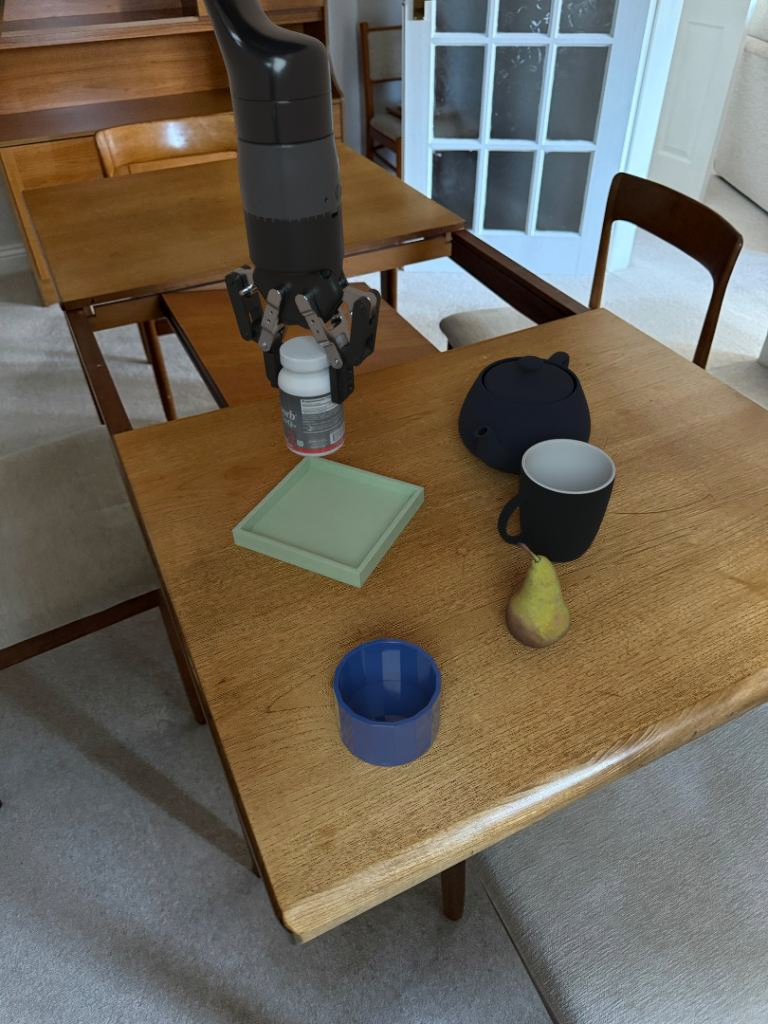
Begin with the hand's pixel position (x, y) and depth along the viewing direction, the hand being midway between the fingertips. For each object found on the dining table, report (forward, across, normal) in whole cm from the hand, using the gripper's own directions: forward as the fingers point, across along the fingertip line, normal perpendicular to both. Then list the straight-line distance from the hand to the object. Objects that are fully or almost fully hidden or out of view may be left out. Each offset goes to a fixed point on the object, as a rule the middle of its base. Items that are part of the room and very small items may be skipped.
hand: (310, 391), depth 67 cm
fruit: (+19, +24, -3) cm, 31 cm away
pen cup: (+18, +16, -17) cm, 30 cm away
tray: (+18, -1, +3) cm, 19 cm away
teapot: (+18, +13, +24) cm, 33 cm away
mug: (+19, +21, +9) cm, 29 cm away
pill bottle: (+6, 0, 0) cm, 6 cm away
